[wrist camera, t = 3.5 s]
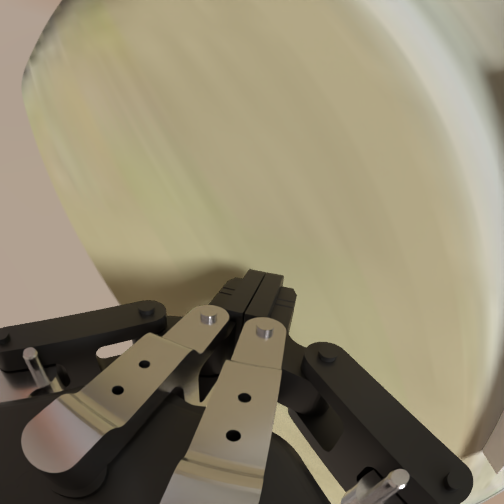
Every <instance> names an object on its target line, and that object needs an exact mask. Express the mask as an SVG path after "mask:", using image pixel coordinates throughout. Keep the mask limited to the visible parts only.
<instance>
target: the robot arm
mask: <svg viewBox="0 0 504 504" xmlns="http://www.w3.org/2000/svg"><path fill="white" fill-rule="evenodd" d="M283 279H284V276H283V275H278V274H272V273H267V274H266V272H262V271H256V270H251V269H249V271H248V272H247V274H246V275H245V276H244V278H243V279H241V278H234V279H231V280H229V281H227V283H226V284H225V285H224V286H223V288H222V289H221V290H220V291H219V293H218V294H217V295H216V296H215V297H214V299H213V300H212V301H211V302H210V303H209V305H201V306H197V307H195V308H193V309H192V310H190V311H189V312H188V313H187V314H186V315H185V316H184V317H177V316H167V315H166V308H165V306H164V305H163V304H161V303H159V302H156V301H151V300H146V301H139V302H134V303H130V304H125V305H120V306H115V307H110V308H106V309H101V310H96V311H90V312H85V313H80V314H75V315H70V316H64V317H59V318H54V319H48V320H43V321H37V322H32V323H26V324H20V325H14V326H9V327H3V328H0V504H331V503H330V501H329V500H328V499H327V497H326V496H325V494H324V493H323V491H322V490H321V488H320V487H319V485H318V484H317V482H316V481H315V479H314V478H313V476H312V475H311V473H310V471H309V470H308V468H307V467H306V465H305V464H304V462H303V461H302V459H301V457H300V456H299V454H298V453H297V452H296V451H295V449H294V448H293V447H292V446H291V445H290V444H289V443H288V442H287V441H285V440H284V439H283V438H281V437H280V436H278V435H277V434H275V433H273V432H272V429H273V424H274V418H275V412H276V406H277V402H278V403H280V404H282V405H284V406H286V407H288V413H289V415H290V417H291V419H292V420H293V422H294V423H295V424H296V426H297V427H298V429H299V430H300V432H301V433H302V434H303V436H304V437H305V439H306V440H307V441H308V443H309V444H310V445H311V447H312V448H313V450H314V451H315V452H316V454H317V455H318V456H319V458H320V459H321V460H322V462H323V463H324V464H325V466H326V467H327V468H328V470H329V471H330V472H331V474H332V475H333V476H334V478H335V479H336V480H337V481H338V483H339V484H340V485H341V486H342V488H343V489H344V490H345V491H346V493H345V494H344V496H343V498H342V500H341V504H460V503H461V502H463V501H464V500H465V499H466V498H467V497H468V496H469V494H470V493H471V490H472V487H473V476H472V473H471V471H470V469H469V468H468V467H467V465H466V464H464V463H463V462H462V461H461V460H460V459H459V458H458V457H457V456H456V455H455V454H454V453H453V452H451V451H450V450H449V449H448V448H447V447H446V446H445V445H444V444H443V443H442V442H441V441H440V440H439V439H438V438H436V437H435V436H434V435H433V434H432V433H431V432H430V431H429V430H428V429H427V428H426V427H425V426H424V425H423V424H422V423H420V422H419V421H418V420H417V419H416V418H415V417H414V416H413V415H412V414H411V413H410V412H409V411H408V410H407V409H406V408H405V407H403V406H402V405H401V404H400V403H399V402H398V401H397V400H396V399H395V398H394V397H393V396H392V395H391V394H390V393H389V392H388V391H387V390H386V389H384V388H383V387H382V386H381V385H380V384H379V383H378V382H377V381H376V380H375V379H374V378H373V377H372V376H371V375H370V374H369V373H368V372H367V371H366V370H364V369H363V368H362V367H361V366H360V365H359V364H358V363H357V362H356V361H355V360H354V359H353V358H352V357H351V356H350V355H349V354H348V353H347V352H346V351H345V350H343V349H342V348H341V347H339V346H337V345H335V344H332V343H328V342H317V343H313V344H311V345H309V346H308V347H307V348H306V347H303V346H301V345H299V344H297V343H296V342H295V341H293V340H292V339H291V337H290V336H289V330H290V326H291V321H292V316H293V311H294V306H295V301H296V296H297V295H296V293H295V291H294V289H292V288H287V287H282V286H283ZM128 340H132V341H133V345H132V347H130V348H129V349H128V350H127V351H125V352H124V353H123V354H122V355H118V356H113V357H109V358H99V357H98V356H97V355H96V351H97V350H98V349H99V348H100V347H103V346H107V345H111V344H115V343H120V342H124V341H128Z"/></svg>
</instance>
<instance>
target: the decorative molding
mask: <svg viewBox="0 0 504 504" xmlns="http://www.w3.org/2000/svg"><path fill="white" fill-rule="evenodd" d="M482 451H483V453H484V455H485V456H486V458H487V459H488V461H489V463H490V464H491V466H492V467H493V469H494V470H495V472H496V474H498V473H499V472H500V471H502V470H503V469H504V410H503V412H502V414H501V416H500V418H499V420H498V422H497V424H496V426H495V428H494V430H493V432H492V434H491V436H490V437H489V439H488V441H487V443H486V444H485V446H484V448H483V450H482Z"/></svg>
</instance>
